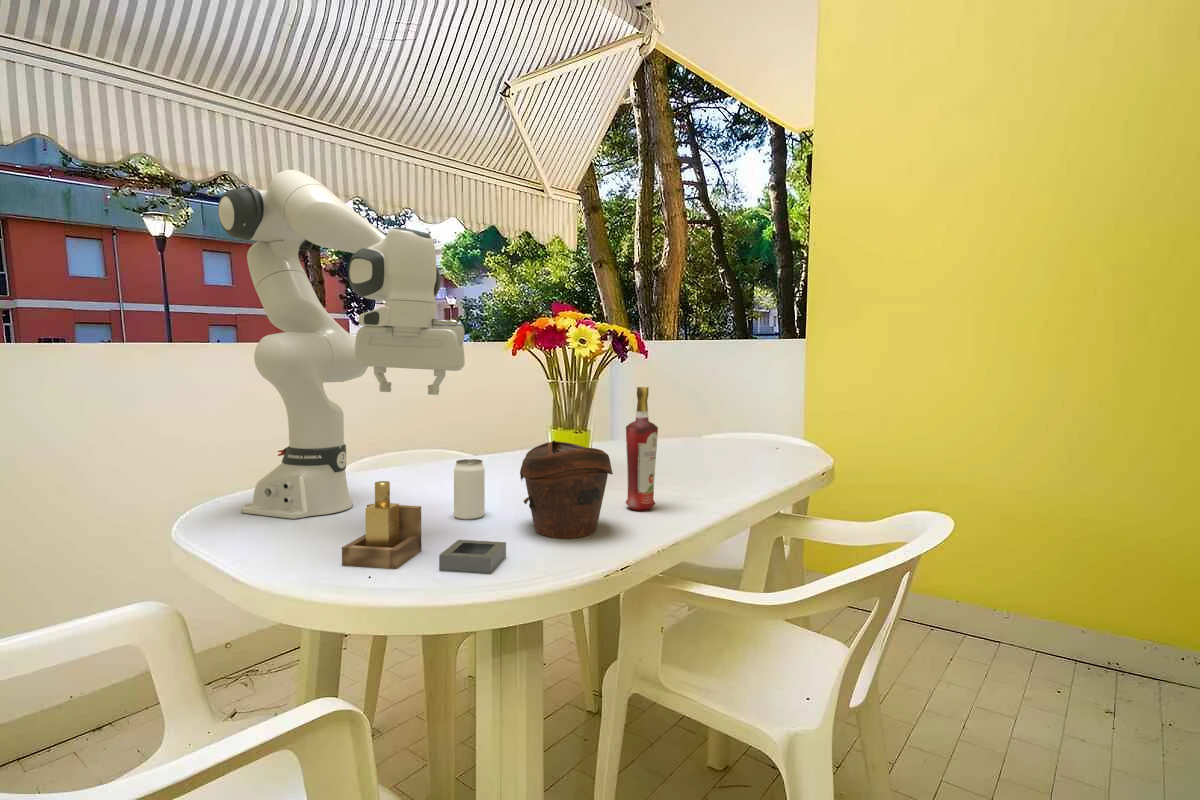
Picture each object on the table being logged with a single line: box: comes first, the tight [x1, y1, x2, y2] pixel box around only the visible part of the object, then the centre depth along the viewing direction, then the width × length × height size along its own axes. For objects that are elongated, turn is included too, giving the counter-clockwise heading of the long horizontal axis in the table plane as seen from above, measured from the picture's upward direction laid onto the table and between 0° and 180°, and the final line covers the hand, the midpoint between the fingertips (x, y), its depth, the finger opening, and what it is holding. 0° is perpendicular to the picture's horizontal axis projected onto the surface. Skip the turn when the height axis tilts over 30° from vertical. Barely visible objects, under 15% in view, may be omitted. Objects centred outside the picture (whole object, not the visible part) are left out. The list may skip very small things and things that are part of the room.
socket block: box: [438, 539, 507, 575], centre depth 103 cm, size 9×9×2 cm
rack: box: [341, 503, 422, 570], centre depth 105 cm, size 10×10×8 cm
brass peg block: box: [364, 480, 400, 548], centre depth 105 cm, size 4×4×13 cm
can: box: [453, 458, 486, 521], centre depth 133 cm, size 6×6×12 cm
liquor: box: [625, 386, 659, 512], centre depth 142 cm, size 7×7×28 cm
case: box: [519, 440, 614, 539], centre depth 124 cm, size 18×20×18 cm
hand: (409, 393), depth 115 cm, fingers open, 8 cm apart
